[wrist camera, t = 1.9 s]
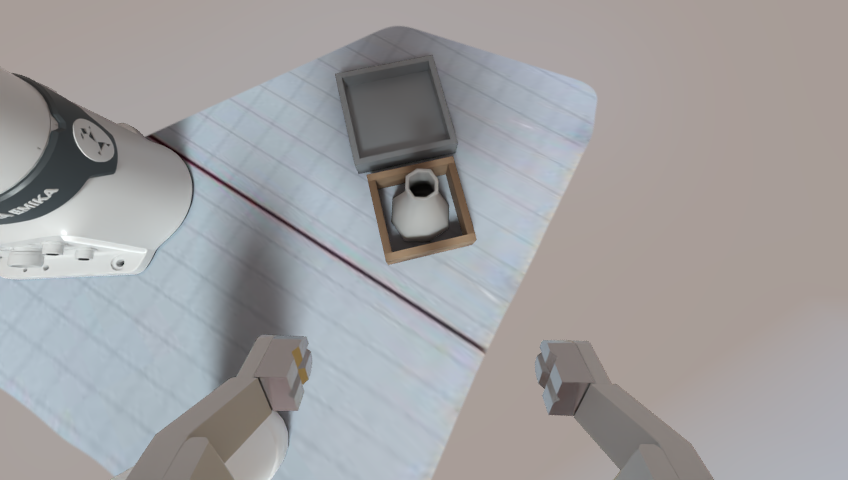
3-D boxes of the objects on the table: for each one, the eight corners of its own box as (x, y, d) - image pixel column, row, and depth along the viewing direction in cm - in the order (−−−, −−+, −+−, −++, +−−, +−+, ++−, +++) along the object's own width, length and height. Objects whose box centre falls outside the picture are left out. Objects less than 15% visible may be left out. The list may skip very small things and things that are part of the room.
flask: (383, 195, 40) (373, 158, 30) (439, 179, 41) (447, 138, 31) (399, 251, 39) (394, 232, 29) (457, 233, 39) (472, 209, 29)
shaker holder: (388, 264, 38) (386, 261, 35) (370, 184, 40) (366, 174, 37) (472, 244, 39) (476, 239, 36) (450, 166, 41) (453, 156, 38)
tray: (358, 173, 40) (354, 165, 38) (339, 87, 43) (334, 73, 40) (455, 152, 41) (457, 143, 39) (431, 69, 44) (432, 54, 41)
